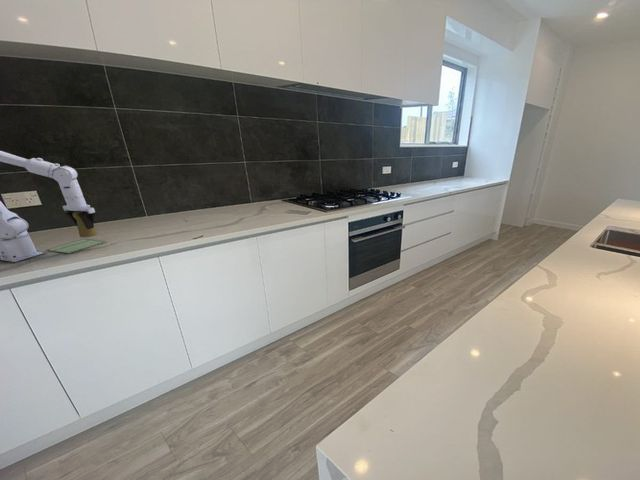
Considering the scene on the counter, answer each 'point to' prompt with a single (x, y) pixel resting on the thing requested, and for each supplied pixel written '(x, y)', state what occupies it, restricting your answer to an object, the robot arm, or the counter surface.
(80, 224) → the cork
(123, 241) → the counter surface
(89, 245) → the napkin
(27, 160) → the robot arm
